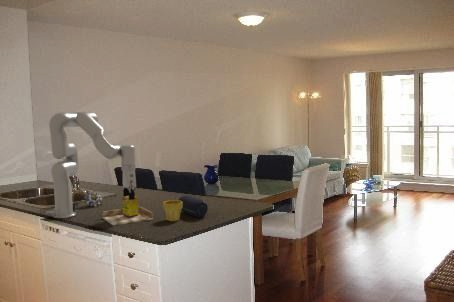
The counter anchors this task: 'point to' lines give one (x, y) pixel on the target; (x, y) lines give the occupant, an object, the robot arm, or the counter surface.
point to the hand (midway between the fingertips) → (129, 198)
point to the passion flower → (93, 199)
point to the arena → (117, 217)
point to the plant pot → (173, 209)
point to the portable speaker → (193, 206)
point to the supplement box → (130, 207)
